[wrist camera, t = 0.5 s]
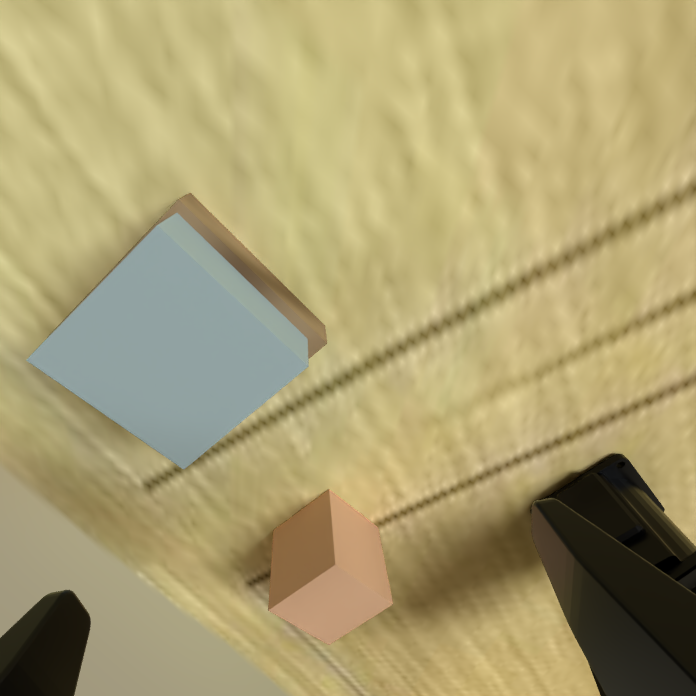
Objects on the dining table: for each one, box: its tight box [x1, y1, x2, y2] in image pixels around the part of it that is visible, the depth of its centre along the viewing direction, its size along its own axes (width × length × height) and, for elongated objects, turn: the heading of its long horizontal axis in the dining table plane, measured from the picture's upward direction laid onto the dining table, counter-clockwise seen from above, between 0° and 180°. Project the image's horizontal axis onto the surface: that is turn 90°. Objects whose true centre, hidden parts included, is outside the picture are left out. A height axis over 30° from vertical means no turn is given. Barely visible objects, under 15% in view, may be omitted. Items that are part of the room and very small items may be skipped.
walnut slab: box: [47, 193, 327, 359], centre depth 20 cm, size 8×8×2 cm
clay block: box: [268, 489, 393, 645], centre depth 25 cm, size 4×4×5 cm
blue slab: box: [26, 213, 308, 469], centre depth 17 cm, size 7×7×2 cm
